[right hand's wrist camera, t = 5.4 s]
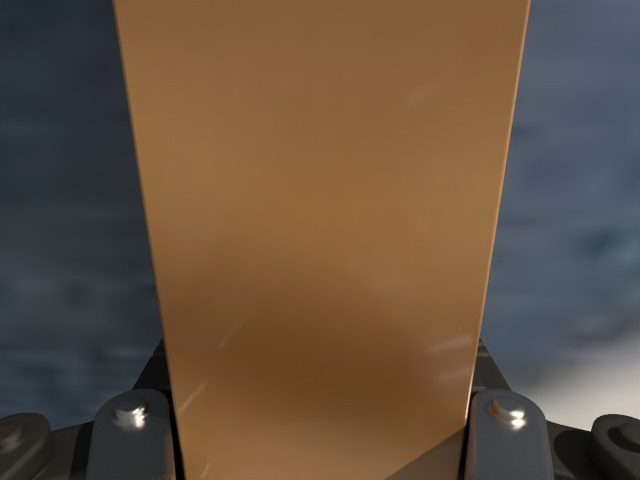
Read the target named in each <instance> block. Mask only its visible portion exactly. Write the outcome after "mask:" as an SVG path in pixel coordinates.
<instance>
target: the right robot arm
mask: <svg viewBox="0 0 640 480" xmlns="http://www.w3.org/2000/svg"><path fill="white" fill-rule="evenodd" d="M0 480H185V477H184V470H183V464H182V457H181V450H180V444H179V437H178V431H177V424H176V418H175V411H174V405H173V398H172V391H171V385H170V378H169V372H168V365H167V359H166V352H165V346H164V339H163V338H162V339H161V341H160V343H159V346H157V348H156V350H155V351H154V353H153V356H151V358H150V360H149V361H148V363H147V365H146V367H145V368H144V370H143V372H142V373H141V375H140V377H139V379H138V380H137V382H136V384H135V385H134V387H133V389H132V390H131V391H127V392H124V393H122V394H119V395H117V396H115V397H114V398H112V399H110V400H109V401H108V402H106V403H105V404H104V405H103V406H102V407H101V408H100V409H99V411H98V412H97V414H96V416H95V419H94V421H91V422H88V423H84V424H80V425H76V426H71V427H67V428H63V429H58V430H54V431H51V429H50V426H49V423H48V420H47V419H46V418H45V417H44V416H42V415H40V414H37V413H20V414H15V415H11V416H8V417H5V418H2V419H0ZM458 480H640V420H639V419H636V418H633V417H629V416H625V415H619V414H607V415H603V416H600V417H598V418H597V419H596V420H595V421H594V423H593V426H592V429H591V432H590V431H586V430H582V429H577V428H573V427H569V426H564V425H560V424H557V423H553V422H550V421H548V420H546V419H545V416H544V414H543V412H542V411H541V409H540V408H539V407H538V406H537V405H536V404H535V403H534V402H532V401H531V400H530V399H528V398H526V397H525V396H523V395H521V394H518V393H516V392H513V391H511V389H510V387H509V386H508V384H507V382H506V381H505V379H504V377H503V376H502V374H501V372H500V371H499V369H498V367H497V366H496V364H495V362H494V360H493V359H492V357H490V354H489V352H488V350H487V349H486V347H485V346H484V345H483V342H482V340H481V339H480V337H479V343H478V349H477V356H476V362H475V369H474V375H473V382H472V388H471V395H470V402H469V408H468V415H467V421H466V428H465V434H464V441H463V447H462V454H461V460H460V467H459V474H458Z"/></svg>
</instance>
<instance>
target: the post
mask: <svg viewBox="0 0 640 480" xmlns="http://www.w3.org/2000/svg"><path fill="white" fill-rule="evenodd" d="M530 2H531V0H112V5H113V11H114V18H115V24H116V31H117V37H118V44H119V50H120V57H121V64H122V70H123V77H124V83H125V90H126V96H127V103H128V109H129V116H130V123H131V129H132V136H133V142H134V149H135V155H136V162H137V169H138V175H139V182H140V188H141V195H142V201H143V208H144V214H145V221H146V228H147V234H148V241H149V247H150V254H151V260H152V267H153V273H154V280H155V287H156V293H157V300H158V306H159V313H160V319H161V326H162V332H163V339H164V346H165V352H166V359H167V365H168V372H169V378H170V385H171V391H172V398H173V405H174V411H175V418H176V424H177V431H178V437H179V444H180V450H181V457H182V464H183V470H184V477H185V480H458V474H459V467H460V460H461V454H462V447H463V441H464V434H465V428H466V421H467V415H468V408H469V402H470V395H471V388H472V382H473V375H474V369H475V362H476V356H477V349H478V343H479V336H480V330H481V323H482V316H483V310H484V303H485V297H486V290H487V284H488V277H489V271H490V264H491V258H492V251H493V244H494V238H495V231H496V225H497V218H498V212H499V205H500V199H501V192H502V186H503V179H504V172H505V166H506V159H507V153H508V146H509V140H510V133H511V127H512V120H513V114H514V107H515V100H516V94H517V87H518V81H519V74H520V68H521V61H522V55H523V48H524V42H525V35H526V28H527V22H528V15H529V9H530Z"/></svg>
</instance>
